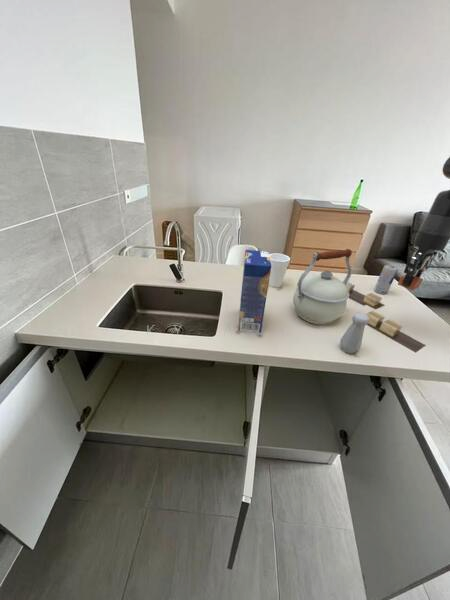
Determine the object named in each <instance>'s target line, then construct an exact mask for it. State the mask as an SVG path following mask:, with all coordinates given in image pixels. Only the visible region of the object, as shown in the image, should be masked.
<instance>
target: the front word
mask: <svg viewBox="0 0 450 600" xmlns="http://www.w3.org/2000/svg"><path fill="white" fill-rule="evenodd" d="M365 314H366V315H367V316H368V317H369V323H368V324H367V325H366V326H368V327H369V328H371V329H373V330H375V331H376V332H378V333H380V334H382V335H383V336H385V337H387V338H389V339H390V340H392V341H394V342H396V343H397V344H399V345H401V346H403V347H404V348H406V349H408V350H410V351H412V352H414V353H417V352H419V351H420V350H421V349H423V348H424V347H426V346H427V345H426V344H424V343H423V342H421V341H419V340H417V339H415V338H414V337H412V336H410V335H408V334H406V333H405V332H402V331H401V330H402V328H403V325H402V324H400V323H398V322H396V321H394V320H393V319H390V318H388V319H387V320H385V316H384V315H383V314H382V313H381V314H380V313H379V312H378V311H377V312H376V311H375V310H370V311H368V312H367V313H365Z"/></svg>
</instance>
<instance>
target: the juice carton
mask: <svg viewBox="0 0 450 600" xmlns="http://www.w3.org/2000/svg"><path fill="white" fill-rule="evenodd" d="M269 254H270V252H269V251H266V250H254V249H244V261H243V269H242V282H241V291H240V302H239V313H238V314H239V315H238V329H237V331H238V332H245V333H247V332H249V333H258V334H260V333H262V327H263V322H264V314H265V310H266V304H267V303H266V302H267V297H268V296H267V295H268V292H269V291H268V290H269V278H270V272H271V261H270V256H269Z"/></svg>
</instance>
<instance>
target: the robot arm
mask: <svg viewBox="0 0 450 600" xmlns="http://www.w3.org/2000/svg"><path fill="white" fill-rule="evenodd" d="M441 171H442V175H443V176H444V177H445V178H447V179H448V180H450V156H449V157H447V159H446V160H445V162H444V163H443V165H442V170H441ZM449 241H450V189H447V190H442V191H440V192H438V193H437V195H436V197H435V198H434V200H433V202H432V204H431V207H430V208H429V210H428V212H427V215H426V216H425V217H424V219H423V221H422V223H421V225H420V228H419V229H418V232H417V234H416V236H415V238H414V241H413V245H414V246H415V247H417V248H418V249H417V250H416V251H414V253H413V254H412V255H410V256H409V257H408V258H407V262H406V264H405V267H404V270H403V273H404V274H405V275H406V276H405V278H404V280H403V282H402V285H404V286H407V287H409V286H410V285H411V283H412V281H413V279H414V277H415V276H416V277H419V278H421V276H422V274H423V273H425V271H427V270H428V269H429V267H430V265H431V264H432V262H433V261H434V259H435V257H436V256H437V255H438V252H439V251H443V250H444V249H445V248H446V246H447V245H448V243H449Z"/></svg>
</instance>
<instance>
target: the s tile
mask: <svg viewBox="0 0 450 600" xmlns="http://www.w3.org/2000/svg"><path fill="white" fill-rule="evenodd" d="M405 276H406V274H403V275H401V276H400V278H399V280H398V283H397V285H398V286H401V287H403V288H405V289H408V290H410V291H414V290H416V289H418V288H420V286H421V284H422V282H423V280H424V278H422V277H420V278H419V277H416V276H415V277H414V279H413V281H412V283H411V285H410V286H409V287H407V286H404V285H402V282H403V280H404V278H405Z"/></svg>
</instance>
